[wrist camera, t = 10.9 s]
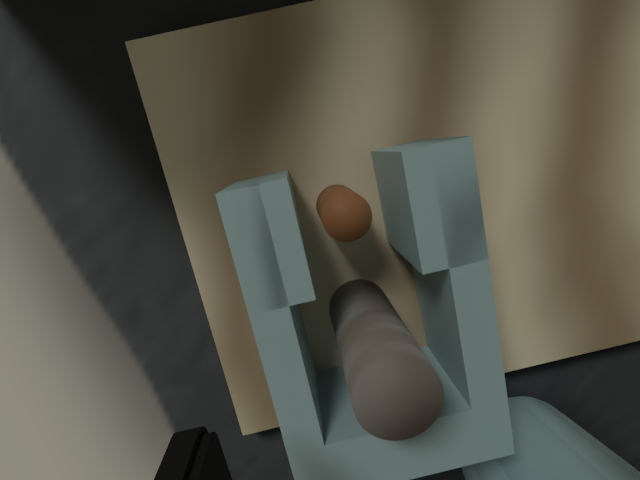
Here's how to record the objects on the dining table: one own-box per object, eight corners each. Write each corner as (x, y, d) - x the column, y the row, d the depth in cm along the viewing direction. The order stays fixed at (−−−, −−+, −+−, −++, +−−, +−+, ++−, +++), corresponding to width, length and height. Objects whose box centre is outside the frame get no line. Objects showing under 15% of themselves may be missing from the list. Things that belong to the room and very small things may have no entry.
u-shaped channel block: (460, 380, 18) (514, 453, 14) (298, 419, 18) (301, 506, 14) (421, 139, 16) (471, 135, 12) (235, 181, 16) (215, 194, 11)
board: (650, -63, 16) (965, -248, 9) (665, 317, 20) (896, 421, 12) (137, 49, 16) (-3, -42, 8) (245, 418, 19) (217, 590, 12)
